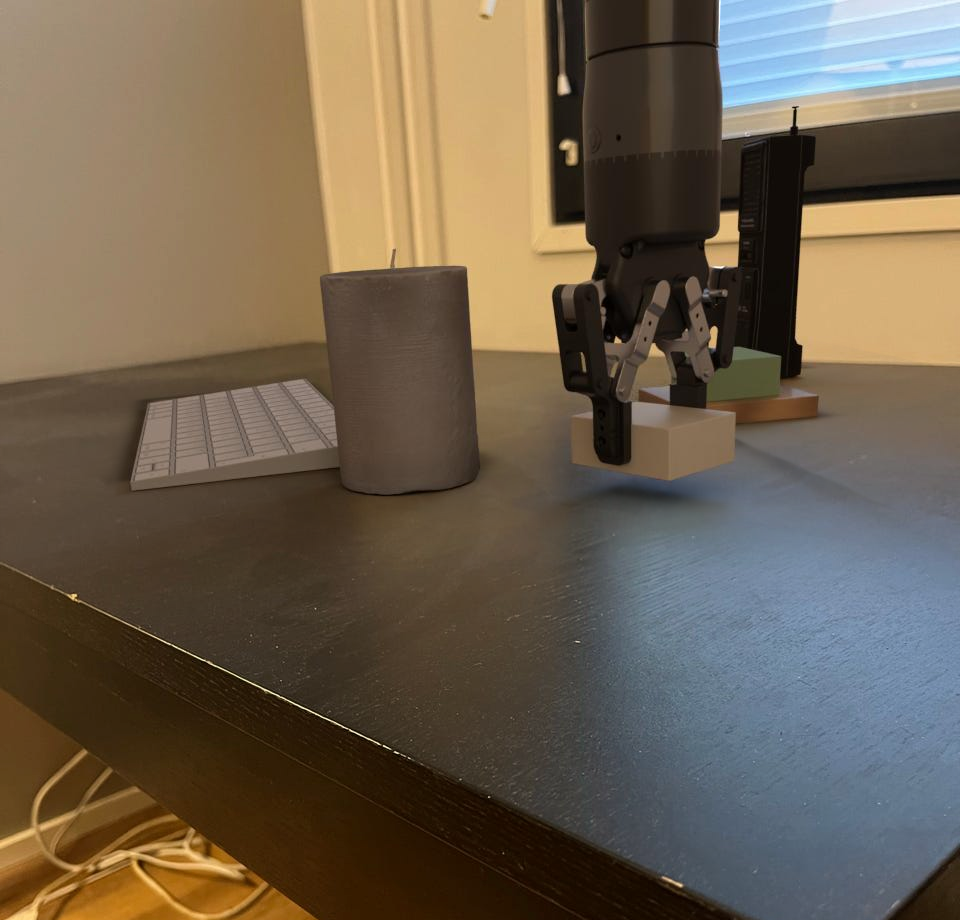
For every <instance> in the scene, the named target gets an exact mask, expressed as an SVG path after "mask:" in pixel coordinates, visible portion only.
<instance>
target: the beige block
mask: <svg viewBox="0 0 960 920" xmlns="http://www.w3.org/2000/svg"><path fill="white" fill-rule="evenodd" d="M735 419H736V413H735V412H727V411H718V410H709V409H700V408H691V407H681V406H672V405H663V404H654V403H644V402H639V401H632V424H631V461H630V462H629V463H627V464H624V465H620V466H617V465H612V464H606V463H602V462H600V460H599V459H598V456H597V455H596V453H595V450H594V444H593V438H594V436H593V431H594V429H593V410H592V411H587V412H583V413H578V414H574V415H570V441H571V442H570V444H571V464H573V465H579V466H583V467H590V468H594V469H599V470H605V471H611V472H616V473H622V474H627V475H633V476H638V477H639V476H640V477H645V478H650V479H655V480H660V481H667V482H670V481H674V480H677V479H681V478H684V477H687V476H691V475H695V474H697V473H701V472H704V471H708V470H711V469H715V468H718V467H721V466H724V465H728V464H731V463H734V462H735V449H736V448H735V447H736V446H735V443H736V423H735Z"/></svg>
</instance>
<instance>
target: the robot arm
mask: <svg viewBox="0 0 960 920" xmlns="http://www.w3.org/2000/svg"><path fill="white" fill-rule="evenodd" d="M720 22H721V0H584V27H585V29H584V31H585V32H584V33H585V61H586V63H585V79H584V80H585V81H584V90H583V101H582V141H583V142H582V144H583V145H582V146H583V148H582V149H583V182H584V183H583V185H584V187H583V188H584V222H585V223H584V225H585V226H584V228H585V229H584V230H585V240H586V242H587V243H588V245H590V246H591V247H593V248H594V249H595V253H596V254H595V255H596V257H595V263H594V268H593V271H592V275H591V277H590V279H588V280H586V281H582V282H580V283H558V284H557V285H555V286H554V287H553V289H552V292H551V301H552V308H553V316H554V322H555V329H556V337H557V345H558V352H559V361H560V367H561V374H562V381H563V382H562V383H563V387H564V389H565V391H566V392H569V393H576V394H578V395H579V394H580V395H583V396H586V397H587V398H589V399H590V401H591V404H592V411H593V429H594V431H593V436H594V438H593V444H594V450H595V453H596V455H597V456H598V459H599V460H600V462H602V463H606V464H612V465H617V466H620V465H624V464H627V463H629V462H630V461H631V424H632V402H633V401H632V400H629V398H630V396H631V393H632V389H633V386H634V383H635V379H636V376H637V372H638V370H639V367H640V366H641V365H642V364H644V363H646V362H647V360H648V358H649V355H650V351H651V348H652V344H654V345H655V347H656V349H658V350H659V351H660V352H662V353H663V354H664V356H665V360H666V363H667V367H668V369H669V372H670V377H671V376H672V378H673V379H674V380H677V383H674V384H671V383H670V384H669V386H670V405H672V406H681V407H691V408H700V409H706V396H707V383H709V382H710V381H711V380H712V378H713V375H714V372H716V371H717V370H718V369H719V368H723V369H726V368H728V367H729V366H730V365H731V363H732V358H733V349H734V341H735V332H736V323H737V315H738V306H739V297H740V289H741V280H742V273H741V270H740V268H739V267H738V266H727V265H725V266H723V265H721V266H710V264H709V262H708V258H707V254H706V247H705V244H706V240H711V239H714V238H715V237H716V236H717V235H718V234H719V232H720V228H721V190H722V189H721V188H722V187H721V186H722V157H723V156H722V154H723V153H722V152H723V150H722V148H723V147H722V146H723V109H724V106H723V99H724V98H723V86H722V85H723V83H722V75H721V66H720V64H721V63H720V49H719V48H720V29H721V28H720V26H721V23H720ZM713 327H715V328H716V329H717V332H716V341H715V347H709V346H710V342H711V340H712V335H711V330H712V328H713ZM616 338H617V339H618V340H620V343H619V342H618V343H617V342H616ZM685 352H686V353H687V354H688V355H689V357H688V358H686V356H685ZM582 355H583V358H584V364H585V365H583V359H582ZM616 363H617V365H616V369H615V372H614V375H613V376H614V377H613V376H611V375H612V371H613V368H614V365H615V364H616ZM583 366H585V370H584V367H583Z"/></svg>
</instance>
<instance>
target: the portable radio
mask: <svg viewBox="0 0 960 920" xmlns="http://www.w3.org/2000/svg"><path fill="white" fill-rule="evenodd" d="M798 108H800V106H799V105H795V106H794V105H793V106H791V109H793V110H792V126H791V127H789V134H783V135H768V136H764V137H760V138H758V139H757V138H756V139H754V140H750V141H746V142H745V143H744V144H743V146H742V148H741V149H740V164H739V165H740V167H739V187H738V188H739V189H738V190H739V191H738V211H737V212H738V213H737V231H738V236H739V237H738V253H737V267H739V268H740V270H741V273H742V280H741V289H740V297H739V306H738V315H737V323H736V332H735V341H734V347H742V348H747V349H751V350H756V351H760V352H765V353H769V354H774V355H778V356H781V370H780V379H786V378H792V377H793V378H794V377H797V376H800V375H802V366H803V365H802V363H803V347H804V345H803V344H799V343H798V342H797V340H796V339H797V338H796V331H797V308H798V293H799V278H800V277H799V276H800V275H799V274H800V260H801V259H800V258H801V240H802V223H803V209H804V191H805V190H804V189H805V175H806V171H807V170H808V168H809V167H813V166H815V157H816V142H817V136H815V135H812V134H799V126H798V125H797V117H798V116H797V115H798Z"/></svg>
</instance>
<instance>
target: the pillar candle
mask: <svg viewBox="0 0 960 920" xmlns="http://www.w3.org/2000/svg"><path fill="white" fill-rule="evenodd" d="M396 253H397V249H396V248H393V249H392V253H391V259H390V264H389V268H382V269H381V268H377V269H365V270H364V269H363V270H349V271H340V272H339V271H338V272H331V273H326V274H322V275H320V276H319V286H320V294H321V303H322V313H323V314H322V315H323V323H324V330H325V341H326V349H327V350H326V351H327V358H328V359H327V360H328V368H329V377H330V385H331V387H330V388H331V395H332V405H333V406H334V415H335V425H336V434H337V444H338V453H339V463H340V467H339V471H340V479H341V485H342V486H343V487H344V488H345V489H347V490H350V491H353V492H358V493H364V494H372V495H376V494H377V495H387V496H388V495H389V496H390V495H401V494H407V493H414V492H426V491H427V492H428V491H441V490H448V489H453V488H455V487H460V486H463V485H465V484H468V483H470V482H472V481H473V480H474V479H477V476H478V475H479V470H480V468H481V462H480V449H479V435H478V423H477V422H478V421H477V408H476V407H477V405H476V404H477V403H476V389H475V377H474V376H475V374H474V362H473V361H474V359H473V345H472V343H473V342H472V329H471V327H472V325H471V316H470V315H471V311H470V310H471V309H470V296H469V280H468V279H469V278H468V267H467V266H465V265H433V266H431V265H430V266H429V265H428V266H425V265H424V266H408V267H407V266H406V267H396V264H395V260H396Z"/></svg>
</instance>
